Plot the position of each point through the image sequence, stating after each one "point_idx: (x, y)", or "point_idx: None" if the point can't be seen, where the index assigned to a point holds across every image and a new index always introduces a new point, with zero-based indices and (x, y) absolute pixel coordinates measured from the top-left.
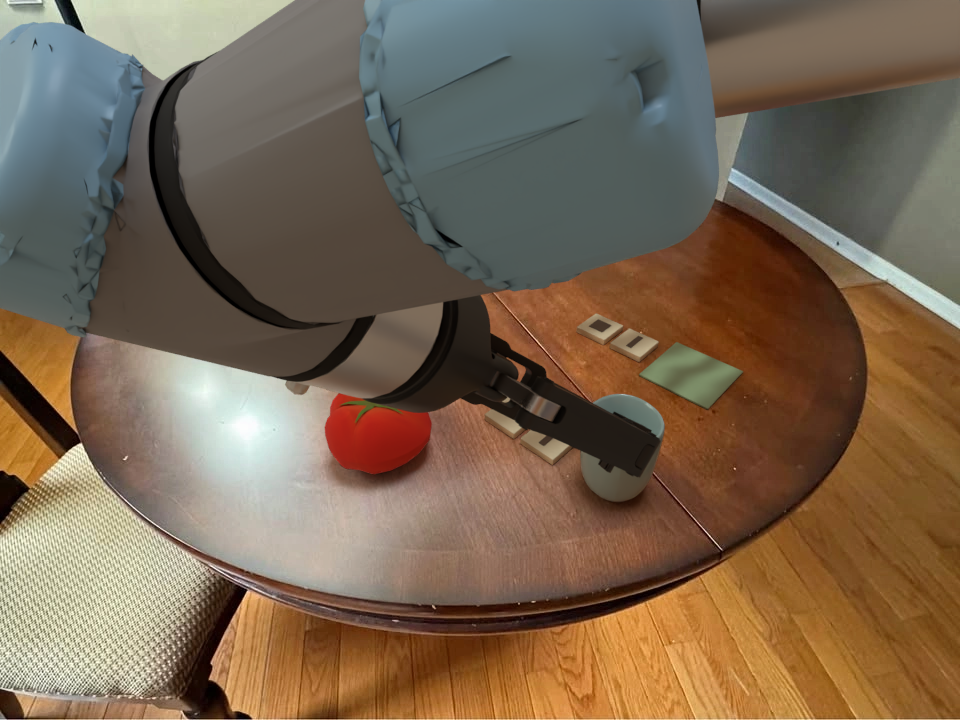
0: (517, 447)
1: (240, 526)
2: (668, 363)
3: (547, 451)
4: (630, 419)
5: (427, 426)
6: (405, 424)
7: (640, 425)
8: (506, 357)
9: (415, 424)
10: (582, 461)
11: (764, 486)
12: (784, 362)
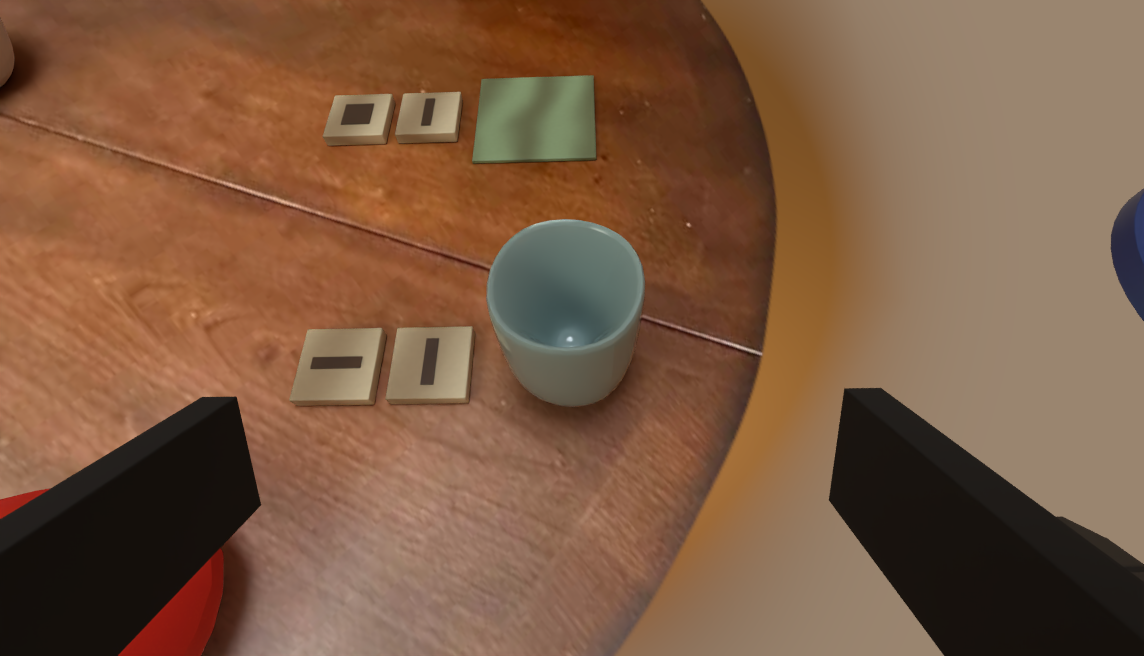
0: (391, 414)
1: None
2: (497, 119)
3: (446, 389)
4: (975, 487)
5: None
6: None
7: (983, 465)
8: (242, 423)
9: None
10: (528, 385)
11: (736, 225)
12: (625, 35)
